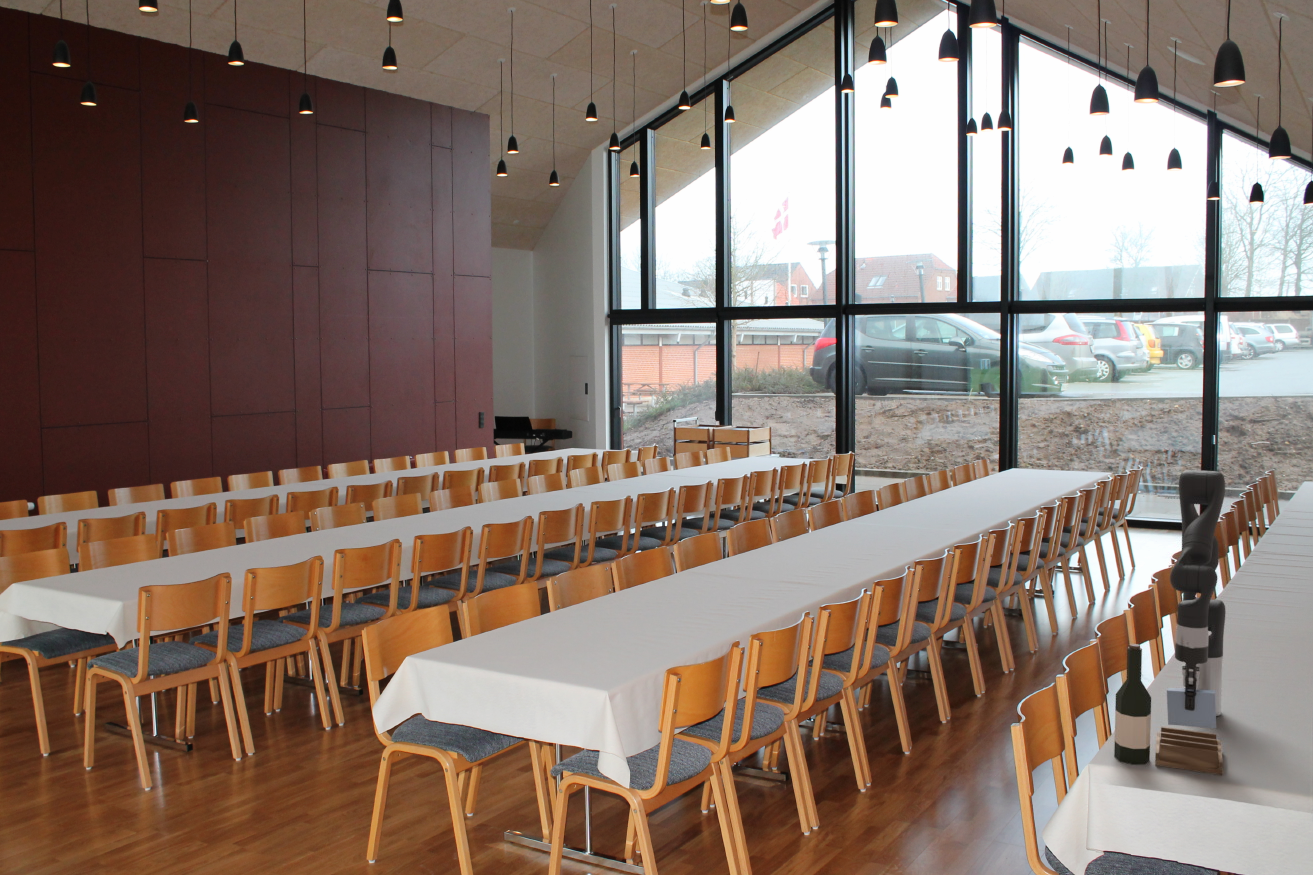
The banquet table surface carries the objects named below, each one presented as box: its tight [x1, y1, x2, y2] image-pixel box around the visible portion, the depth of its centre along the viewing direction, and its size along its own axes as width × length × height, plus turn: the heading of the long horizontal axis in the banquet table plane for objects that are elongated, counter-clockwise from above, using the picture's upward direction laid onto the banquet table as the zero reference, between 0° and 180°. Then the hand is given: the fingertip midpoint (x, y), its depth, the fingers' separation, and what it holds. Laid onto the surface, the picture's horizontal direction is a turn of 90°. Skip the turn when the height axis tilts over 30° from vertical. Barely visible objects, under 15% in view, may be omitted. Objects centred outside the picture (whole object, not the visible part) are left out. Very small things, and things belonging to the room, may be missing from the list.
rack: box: [1154, 726, 1223, 776], centre depth 270 cm, size 16×15×5 cm
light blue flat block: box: [1166, 687, 1217, 729], centre depth 269 cm, size 2×11×9 cm, turn 63°
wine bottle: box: [1113, 643, 1152, 766], centre depth 270 cm, size 8×8×30 cm
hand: (1189, 707), depth 269 cm, fingers closed on light blue flat block, 2 cm apart
